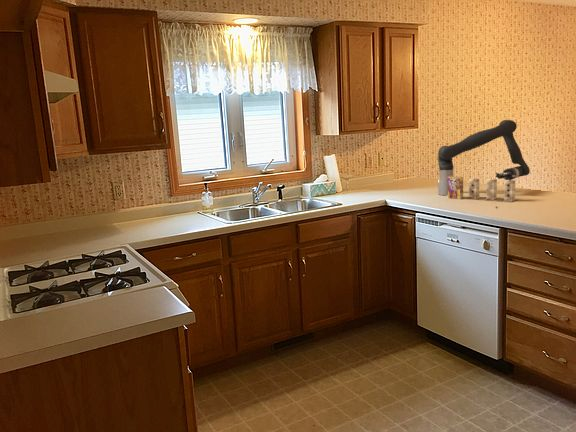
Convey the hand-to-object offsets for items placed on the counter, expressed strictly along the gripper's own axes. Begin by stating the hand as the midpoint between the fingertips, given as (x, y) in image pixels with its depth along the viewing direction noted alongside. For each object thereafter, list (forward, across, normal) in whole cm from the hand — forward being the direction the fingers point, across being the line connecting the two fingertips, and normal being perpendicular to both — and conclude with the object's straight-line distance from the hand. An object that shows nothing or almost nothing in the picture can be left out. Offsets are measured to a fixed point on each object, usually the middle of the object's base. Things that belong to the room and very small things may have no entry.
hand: (499, 176), depth 309 cm
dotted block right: (+12, +12, +12) cm, 20 cm away
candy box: (+16, -20, +15) cm, 30 cm away
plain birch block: (+12, 0, +12) cm, 17 cm away
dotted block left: (+12, -10, +13) cm, 20 cm away
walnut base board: (+12, +1, +14) cm, 18 cm away
